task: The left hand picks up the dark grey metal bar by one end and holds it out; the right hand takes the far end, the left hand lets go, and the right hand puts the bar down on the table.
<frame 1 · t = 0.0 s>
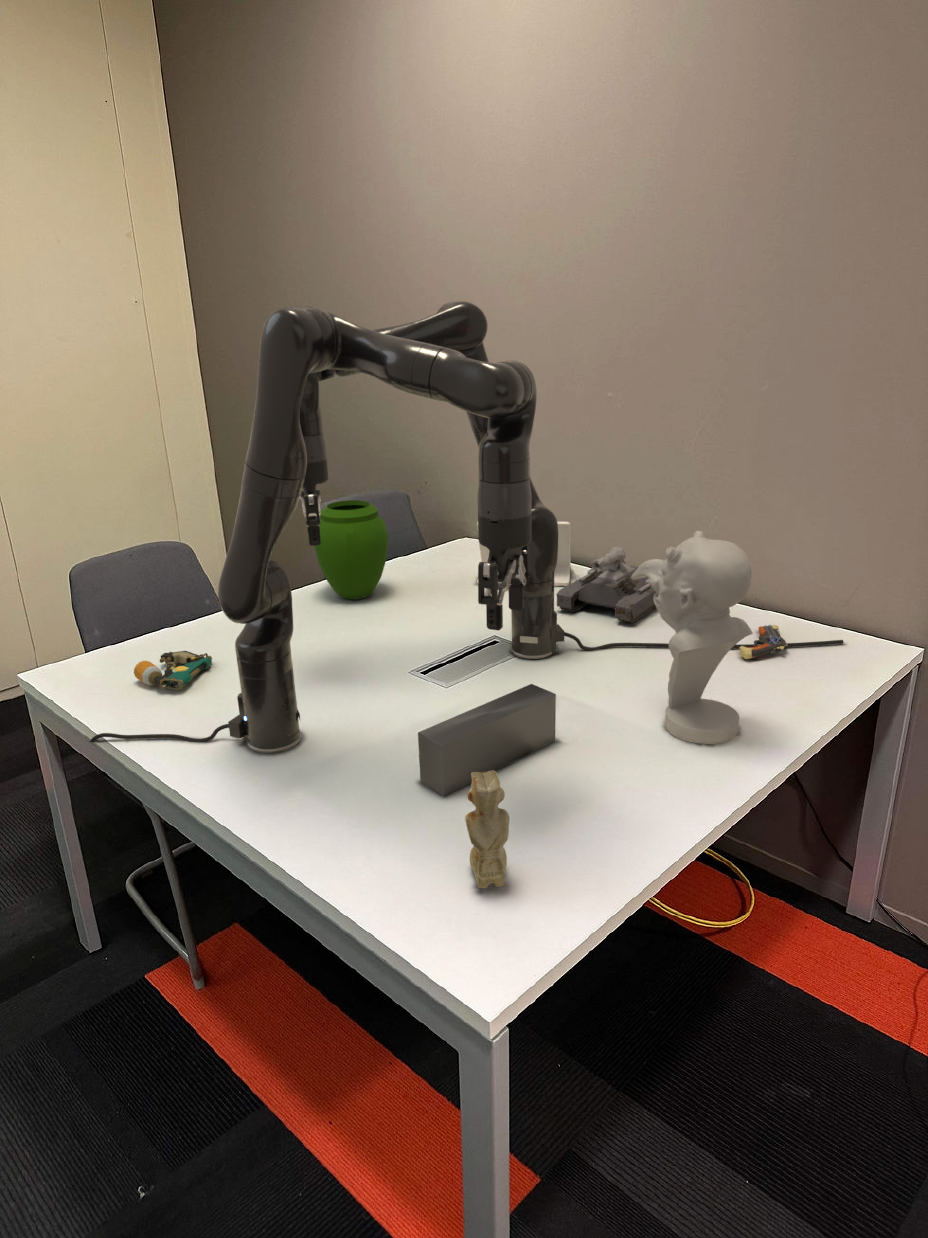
left hand: (505, 619, 125), 29 cm above the table, tool pointing down, fingers open, 8 cm apart
right hand: (314, 539, 170), 29 cm above the table, tool pointing down, fingers open, 8 cm apart
vase: (355, 595, 227), on the table
bar: (490, 760, 144), on the table
spray gun: (177, 676, 181), on the table
bust sculpture: (681, 722, 155), on the table
toy gun: (760, 645, 187), on the table
sculpture: (488, 878, 115), on the table
toy: (615, 605, 214), on the table
tablet stand: (525, 575, 239), on the table
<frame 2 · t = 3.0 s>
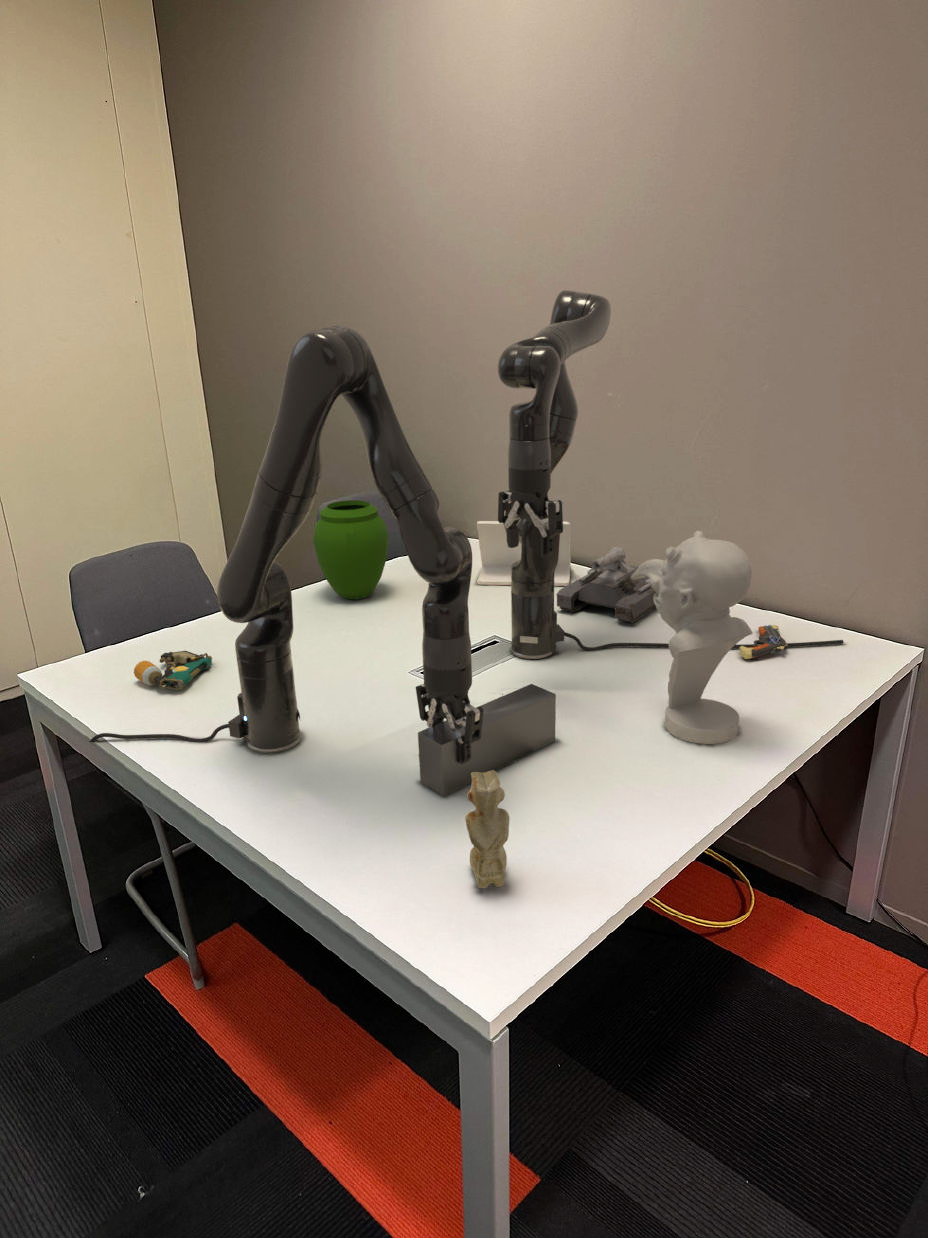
left hand: (450, 754, 137), 5 cm above the table, tool pointing down, fingers closed on bar, 6 cm apart
right hand: (529, 551, 157), 29 cm above the table, tool pointing down, fingers open, 8 cm apart
bar: (490, 760, 144), on the table, touching left hand
everything else where it was.
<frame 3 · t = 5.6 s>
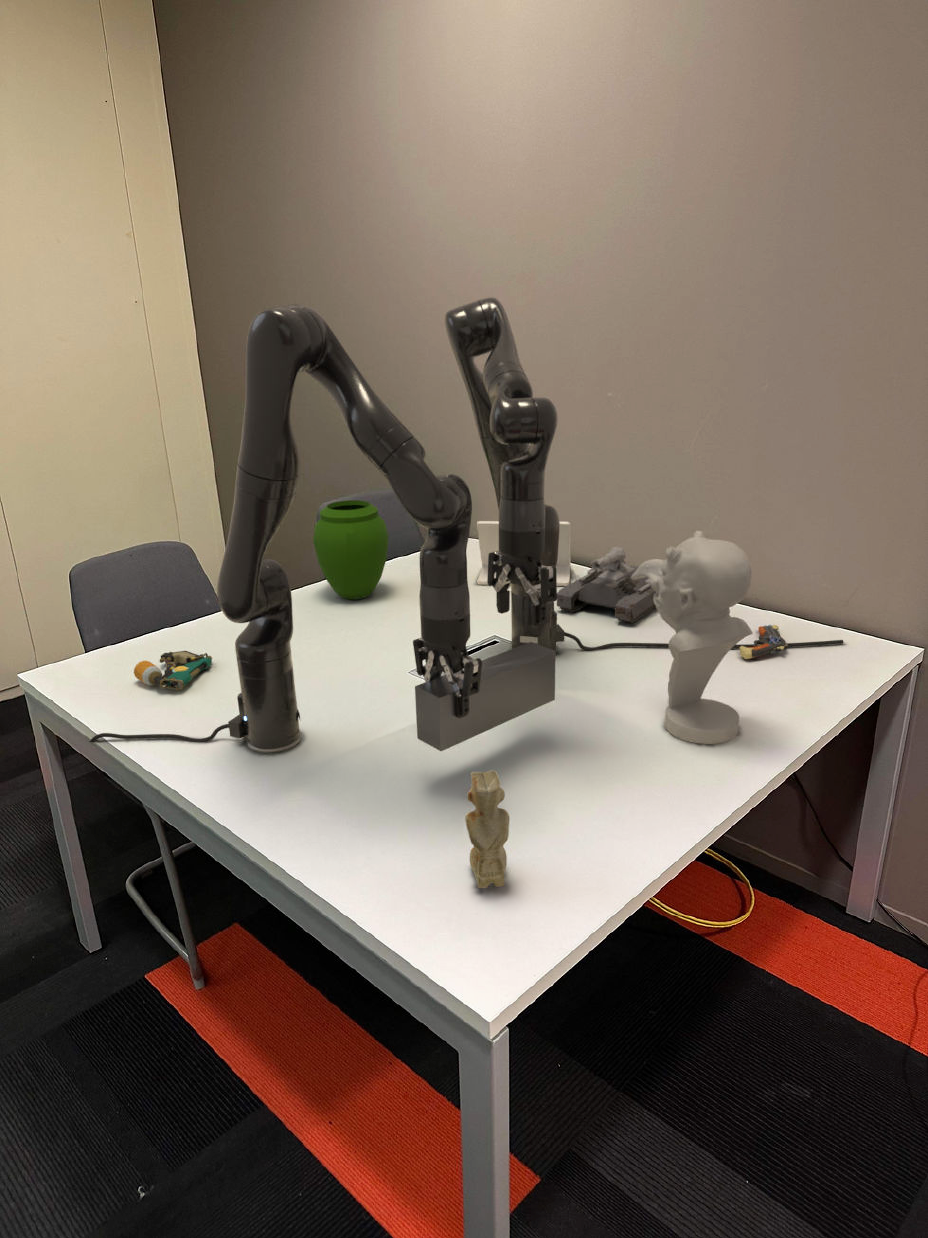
left hand: (448, 709, 134), 13 cm above the table, tool pointing down, fingers closed on bar, 6 cm apart
right hand: (520, 618, 144), 23 cm above the table, tool pointing down, fingers open, 8 cm apart
bar: (488, 718, 141), point 8 cm above the table, touching left hand
everything else where it was.
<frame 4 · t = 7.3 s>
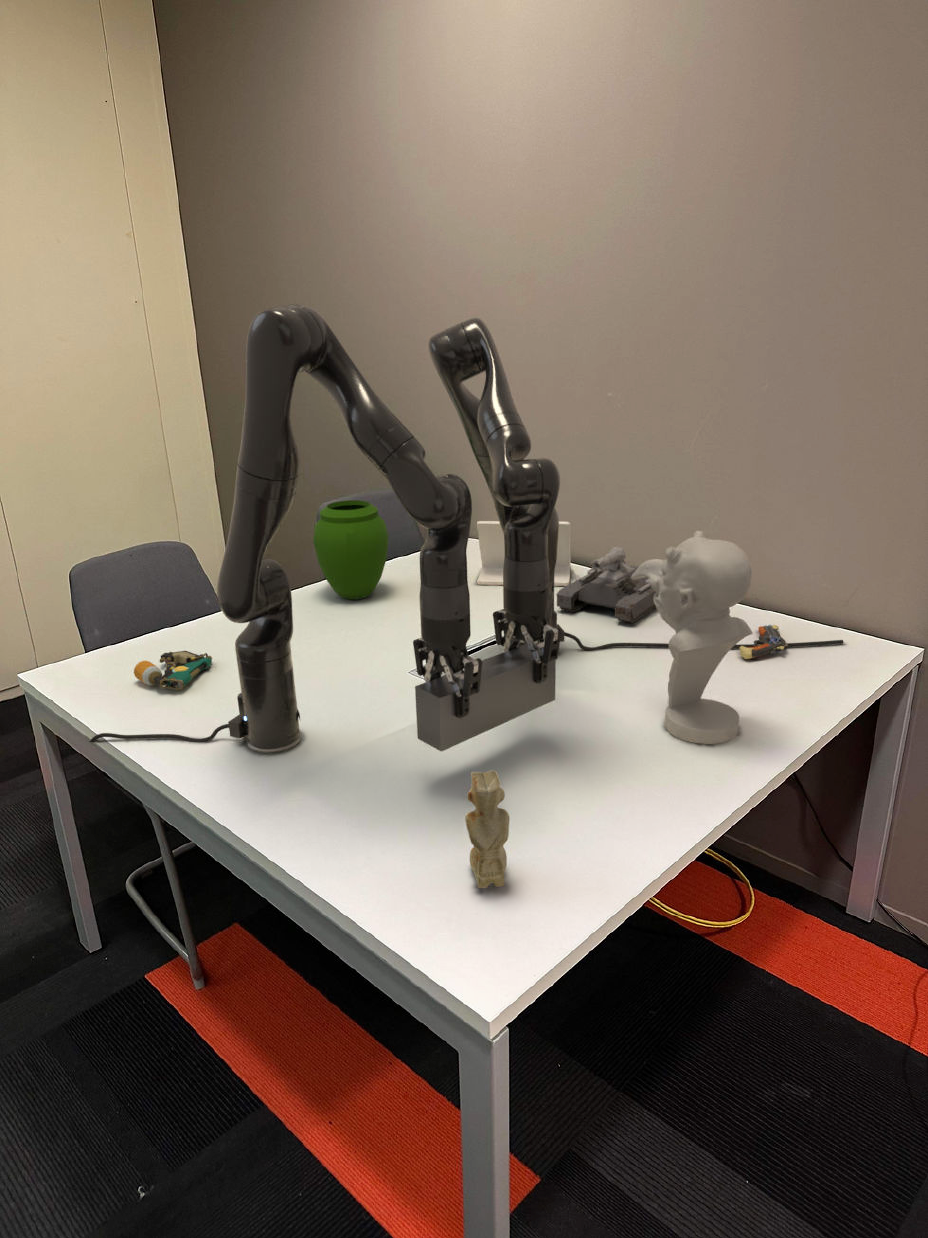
left hand: (448, 709, 134), 13 cm above the table, tool pointing down, fingers closed on bar, 6 cm apart
right hand: (526, 675, 145), 13 cm above the table, tool pointing down, fingers closed on bar, 6 cm apart
bar: (489, 718, 141), point 8 cm above the table, touching right hand, left hand
everything else where it was.
when the left hand's fingers open (13 cm above the table, at t = 8.4 s): bar moves 2 cm, held by the right hand.
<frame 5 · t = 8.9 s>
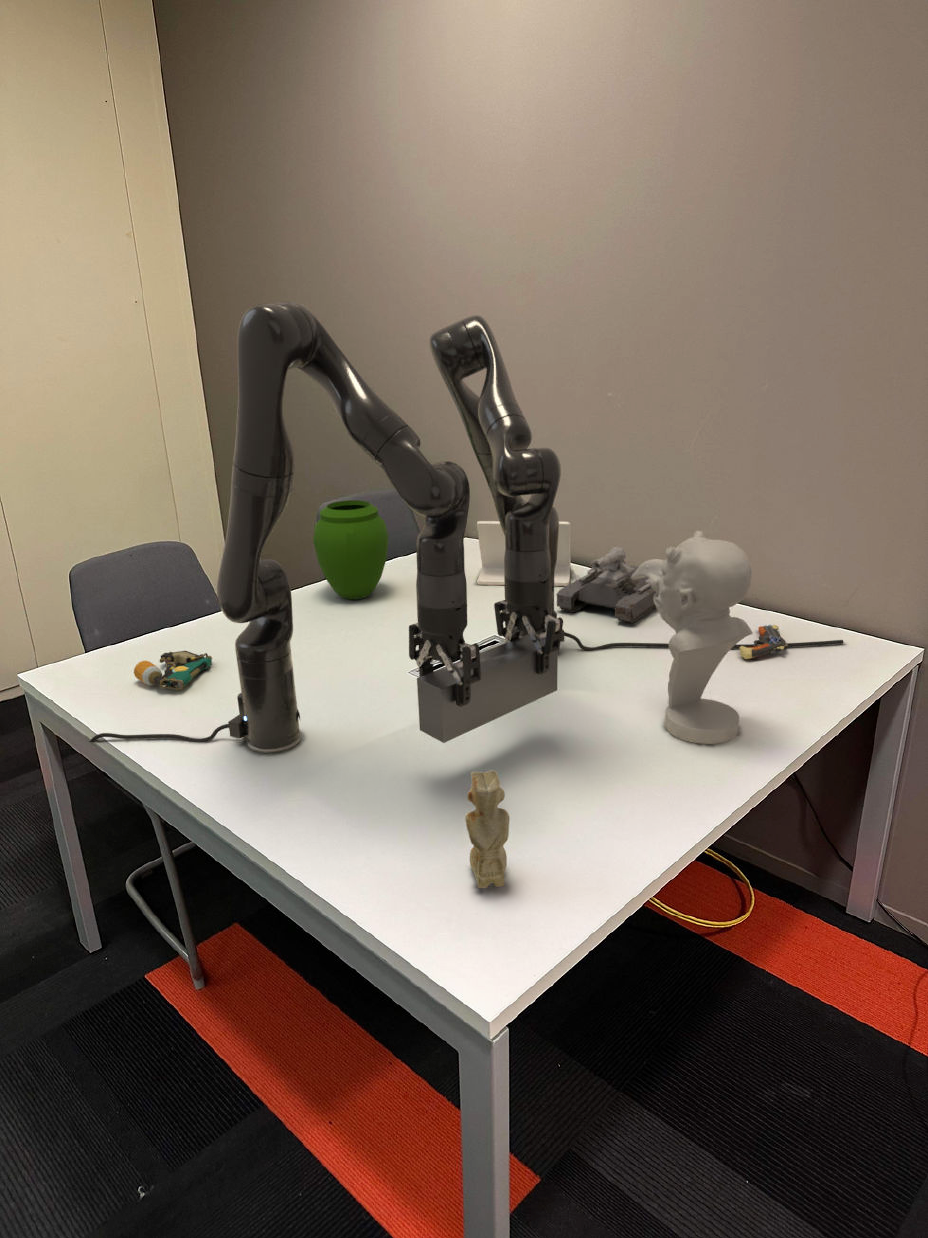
left hand: (444, 695, 133), 15 cm above the table, tool pointing down, fingers open, 8 cm apart
right hand: (528, 666, 145), 15 cm above the table, tool pointing down, fingers closed on bar, 6 cm apart
bar: (491, 709, 141), point 10 cm above the table, touching right hand
everything else where it was.
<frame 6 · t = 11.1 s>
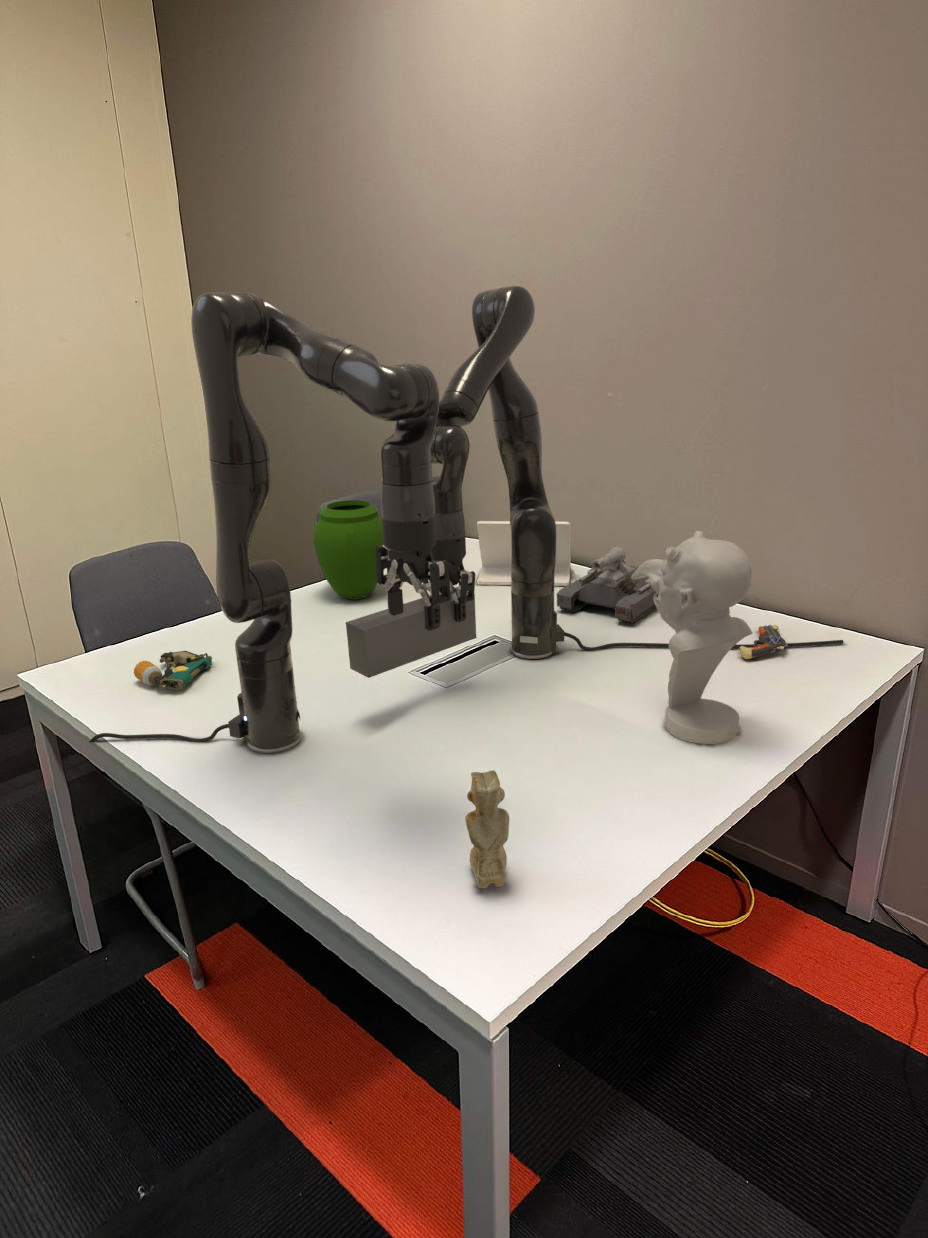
left hand: (414, 621, 125), 29 cm above the table, tool pointing down, fingers open, 8 cm apart
right hand: (449, 616, 165), 16 cm above the table, tool pointing down, fingers closed on bar, 6 cm apart
bar: (415, 652, 162), point 11 cm above the table, touching right hand
everything else where it was.
when the right hand's fingers open (6 cm above the table, at t = 15.4 s): bar stays where it is, on the table.
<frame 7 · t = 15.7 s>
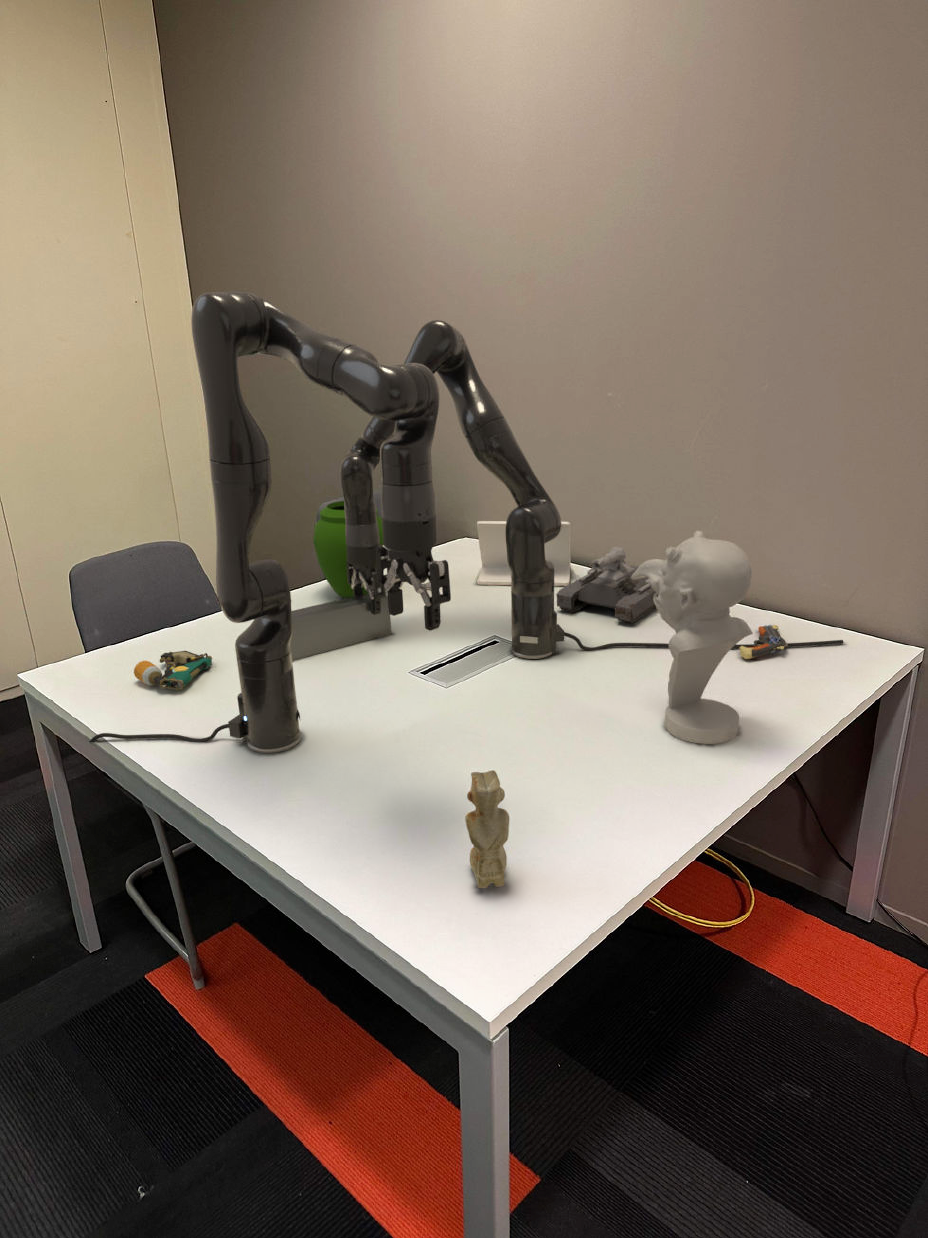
left hand: (414, 621, 125), 29 cm above the table, tool pointing down, fingers open, 8 cm apart
right hand: (367, 608, 198), 7 cm above the table, tool pointing down, fingers open, 8 cm apart
bar: (336, 643, 196), on the table
everything else where it was.
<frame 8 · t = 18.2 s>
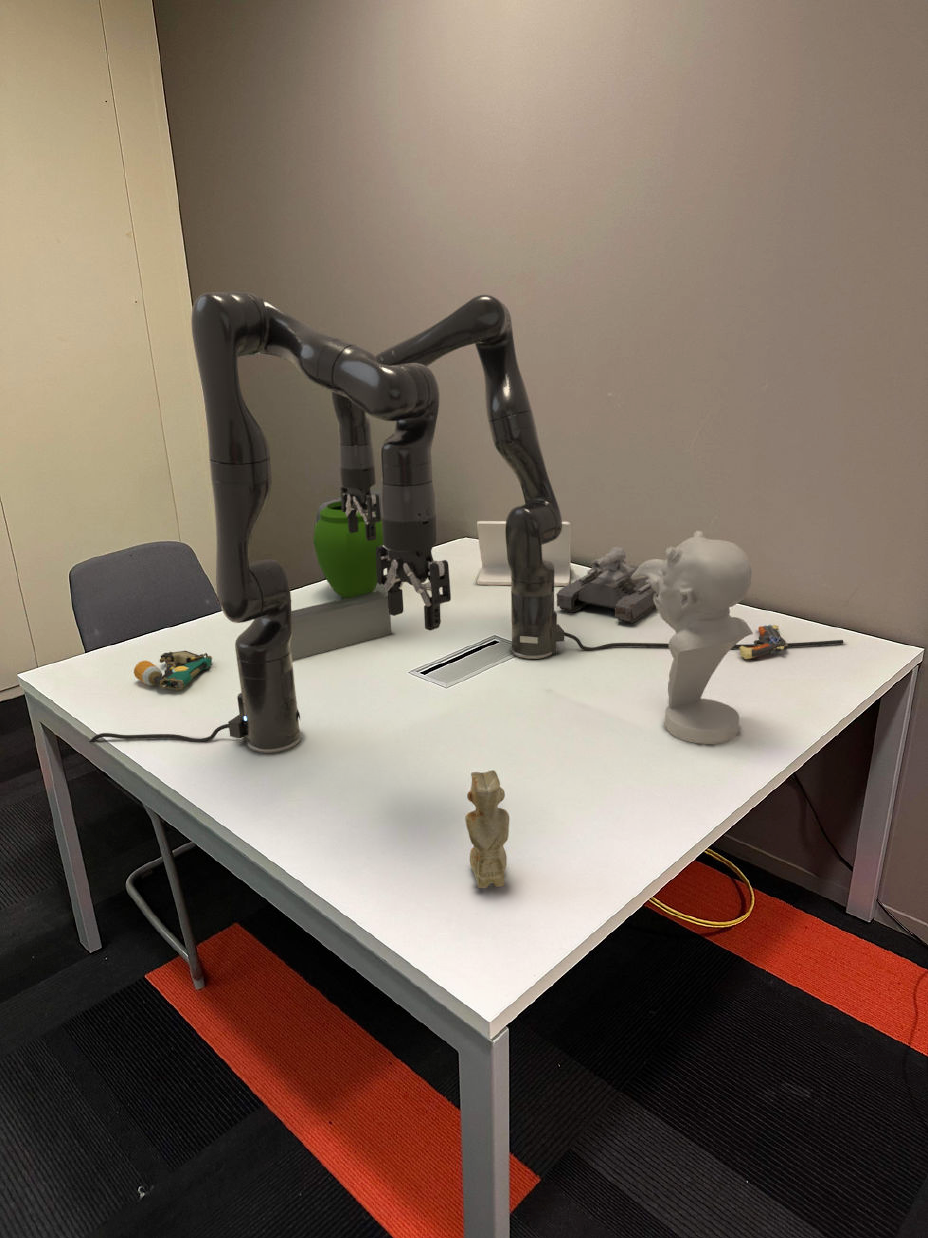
left hand: (414, 621, 125), 29 cm above the table, tool pointing down, fingers open, 8 cm apart
right hand: (362, 536, 192), 24 cm above the table, tool pointing down, fingers open, 8 cm apart
nothing on the table moved.
at the end: bar inside the target area (8.6 cm from its centre), on the table; the left hand is holding nothing; the right hand is holding nothing; bar at rest at the end (0.0 cm/s) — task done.
